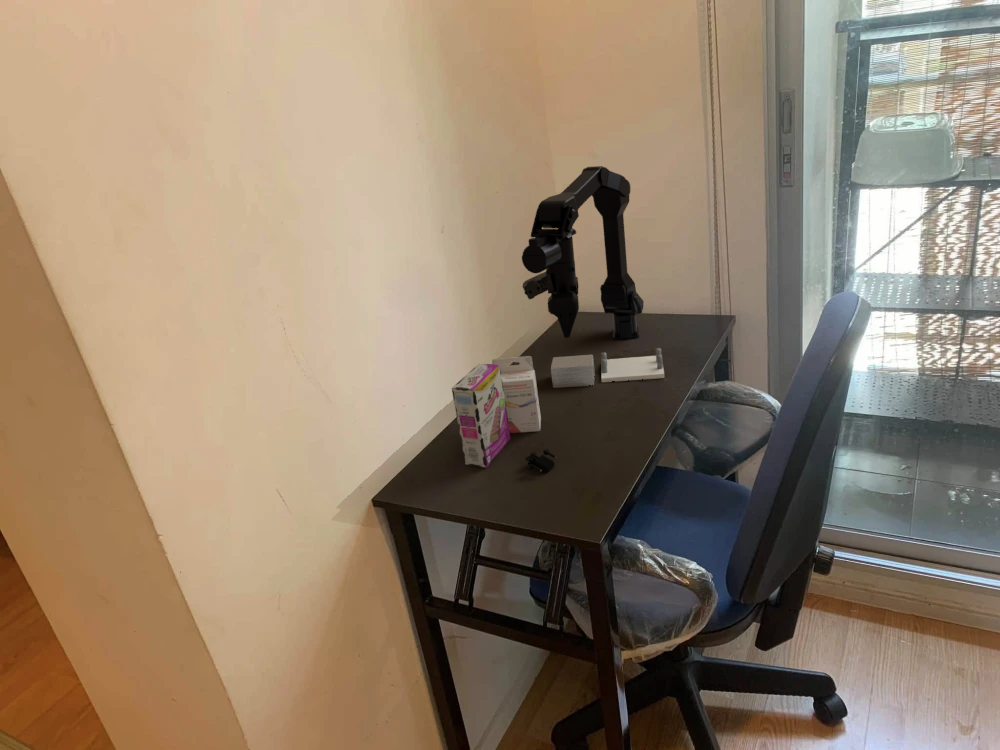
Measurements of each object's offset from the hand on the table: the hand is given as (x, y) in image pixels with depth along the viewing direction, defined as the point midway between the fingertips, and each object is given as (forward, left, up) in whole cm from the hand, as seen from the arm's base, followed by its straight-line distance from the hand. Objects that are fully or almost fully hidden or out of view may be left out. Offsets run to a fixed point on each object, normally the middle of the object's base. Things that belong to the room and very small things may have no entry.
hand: (567, 330), depth 152 cm
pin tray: (-3, +13, -12) cm, 18 cm away
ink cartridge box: (+20, -10, -13) cm, 25 cm away
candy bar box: (+29, -15, -13) cm, 35 cm away
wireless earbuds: (+35, -4, -13) cm, 38 cm away
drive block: (0, 0, -13) cm, 13 cm away
